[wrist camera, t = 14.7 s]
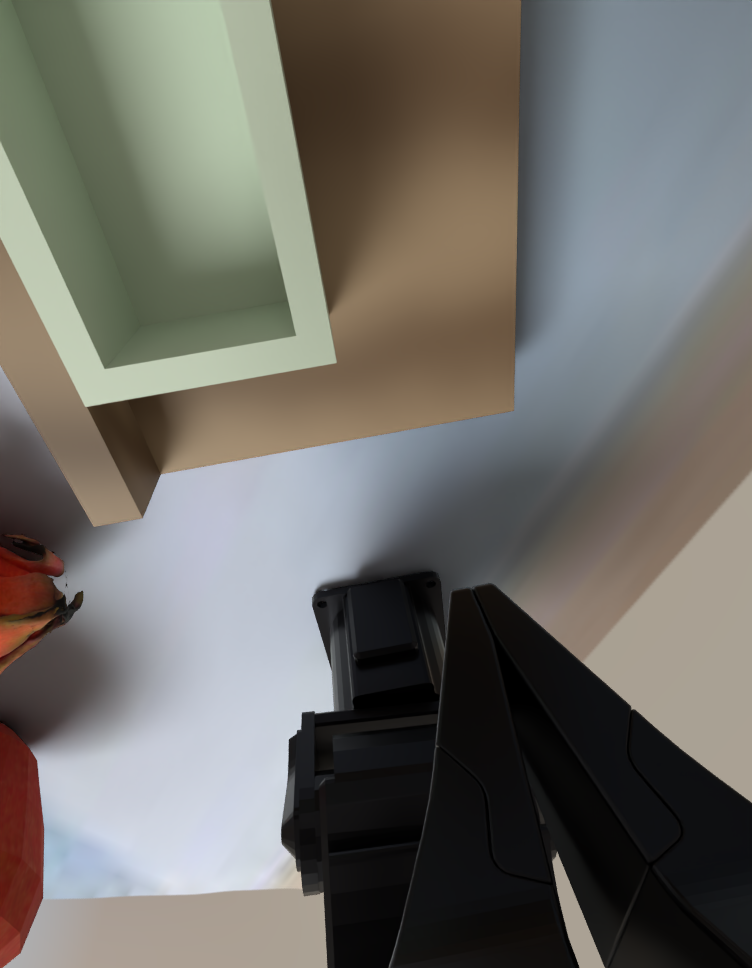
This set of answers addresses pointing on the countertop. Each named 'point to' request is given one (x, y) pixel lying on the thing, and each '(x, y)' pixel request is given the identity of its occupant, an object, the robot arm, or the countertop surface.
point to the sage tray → (157, 193)
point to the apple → (19, 843)
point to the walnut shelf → (341, 258)
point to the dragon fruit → (30, 599)
